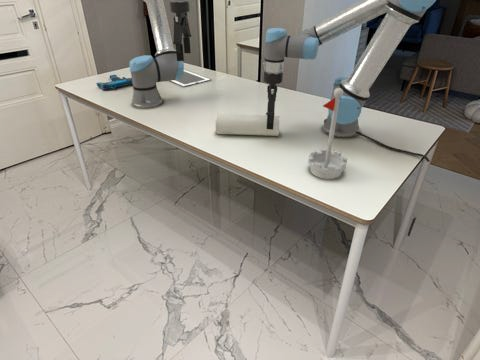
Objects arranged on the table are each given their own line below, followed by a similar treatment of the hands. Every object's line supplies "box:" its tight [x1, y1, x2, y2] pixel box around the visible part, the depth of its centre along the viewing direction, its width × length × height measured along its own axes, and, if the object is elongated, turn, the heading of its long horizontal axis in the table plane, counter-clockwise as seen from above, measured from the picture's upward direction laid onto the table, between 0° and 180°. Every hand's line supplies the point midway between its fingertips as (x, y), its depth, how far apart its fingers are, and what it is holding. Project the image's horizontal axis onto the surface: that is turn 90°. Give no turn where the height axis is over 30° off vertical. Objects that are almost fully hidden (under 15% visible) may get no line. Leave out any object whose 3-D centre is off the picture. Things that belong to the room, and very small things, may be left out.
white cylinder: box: [215, 113, 280, 137], centre depth 145 cm, size 26×8×8 cm, turn 85°
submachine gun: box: [95, 74, 133, 91], centre depth 209 cm, size 34×4×25 cm
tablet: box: [170, 69, 212, 88], centre depth 217 cm, size 32×20×1 cm, turn 41°
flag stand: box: [307, 88, 348, 180], centre depth 113 cm, size 13×13×30 cm
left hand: (184, 56), depth 145 cm, fingers open, 13 cm apart
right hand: (269, 122), depth 144 cm, fingers open, 13 cm apart
